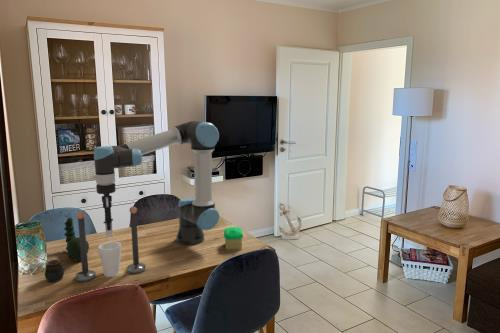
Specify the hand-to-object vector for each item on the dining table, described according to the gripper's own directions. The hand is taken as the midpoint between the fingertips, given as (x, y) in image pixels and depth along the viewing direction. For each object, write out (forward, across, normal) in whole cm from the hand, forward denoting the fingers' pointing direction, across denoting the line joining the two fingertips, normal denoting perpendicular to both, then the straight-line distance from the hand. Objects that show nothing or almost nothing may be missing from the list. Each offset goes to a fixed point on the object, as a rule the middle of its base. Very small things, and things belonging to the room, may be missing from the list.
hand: (109, 236), depth 164 cm
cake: (+18, -10, +60) cm, 63 cm away
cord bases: (+17, 0, 0) cm, 17 cm away
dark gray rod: (+16, 0, -11) cm, 19 cm away
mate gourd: (+17, -3, -23) cm, 29 cm away
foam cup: (+17, 0, 0) cm, 17 cm away
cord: (+16, 0, +10) cm, 19 cm away
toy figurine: (+18, -26, -16) cm, 35 cm away
